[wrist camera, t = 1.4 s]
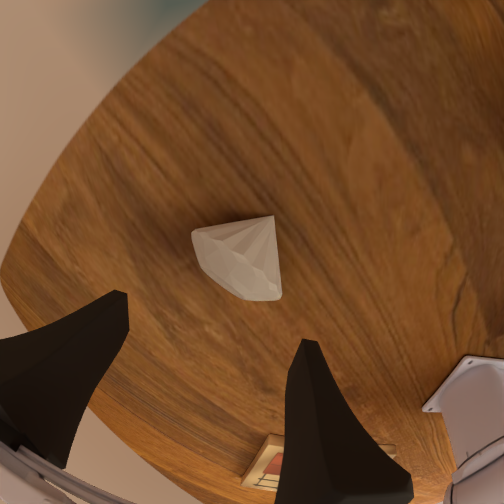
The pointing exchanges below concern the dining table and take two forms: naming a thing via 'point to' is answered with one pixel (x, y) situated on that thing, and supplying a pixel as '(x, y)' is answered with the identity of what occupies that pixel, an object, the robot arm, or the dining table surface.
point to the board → (276, 464)
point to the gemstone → (241, 257)
